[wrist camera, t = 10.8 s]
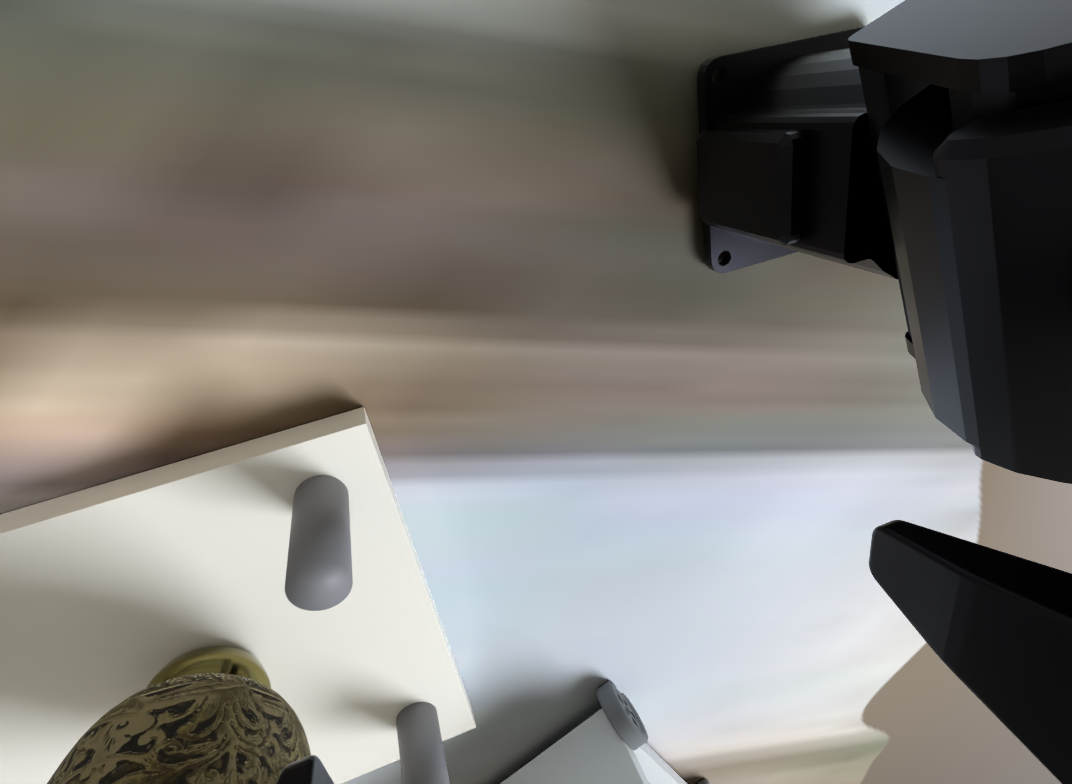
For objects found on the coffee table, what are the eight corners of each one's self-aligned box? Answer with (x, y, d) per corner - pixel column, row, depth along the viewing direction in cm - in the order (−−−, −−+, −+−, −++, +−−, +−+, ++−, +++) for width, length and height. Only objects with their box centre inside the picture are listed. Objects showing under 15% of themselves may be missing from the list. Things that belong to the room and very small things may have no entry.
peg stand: (363, 406, 19) (374, 497, 14) (470, 702, 26) (500, 827, 21) (-191, 570, 16) (-399, 749, 11) (97, 854, 23) (39, 1036, 18)
